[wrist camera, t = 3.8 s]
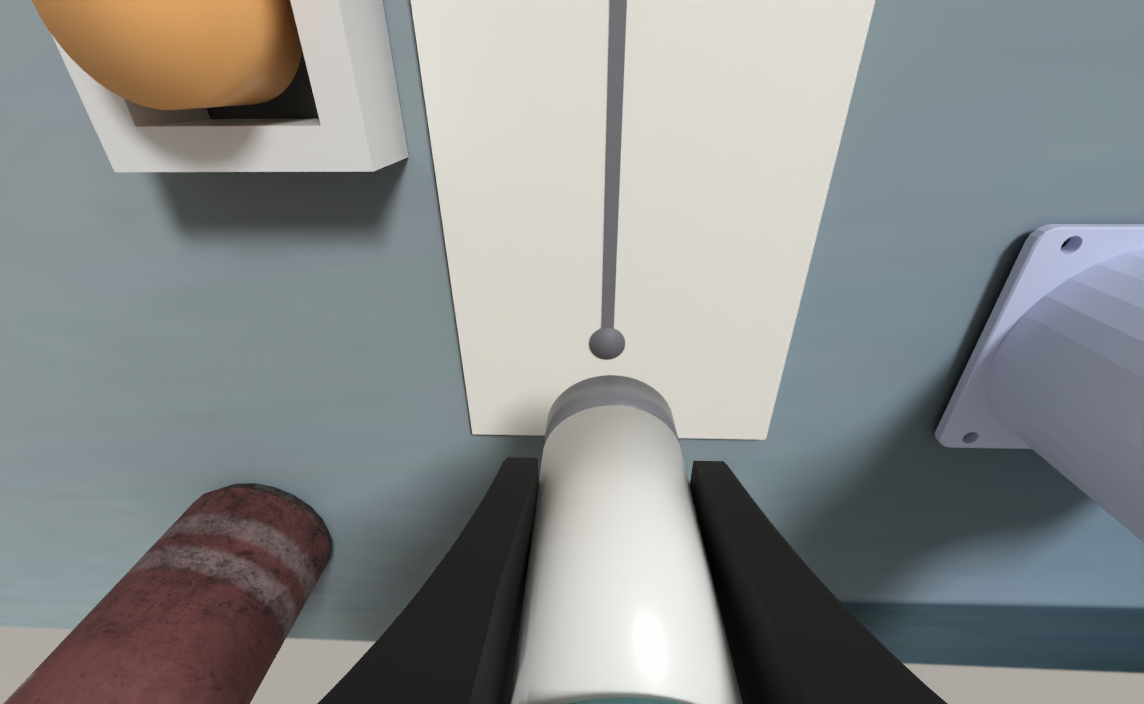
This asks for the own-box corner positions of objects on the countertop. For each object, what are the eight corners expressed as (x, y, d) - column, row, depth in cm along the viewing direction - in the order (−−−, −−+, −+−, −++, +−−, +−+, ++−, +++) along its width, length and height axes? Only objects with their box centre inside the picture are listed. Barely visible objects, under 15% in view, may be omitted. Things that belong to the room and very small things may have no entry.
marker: (684, 372, 11) (840, 859, 4) (671, 479, 13) (766, 953, 6) (539, 370, 11) (456, 842, 4) (544, 476, 13) (491, 938, 6)
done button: (273, -93, 10) (182, -143, 8) (320, 104, 12) (257, 109, 9) (105, -90, 10) (-32, -137, 8) (177, 105, 12) (82, 111, 10)
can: (291, 588, 24) (-22, 1114, 12) (173, 516, 22) (-369, 1081, 9) (368, 540, 22) (86, 1116, 10) (247, 455, 20) (-325, 1075, 7)
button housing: (356, -158, 10) (292, -222, 8) (408, 157, 14) (373, 171, 11) (73, -150, 11) (-61, -211, 8) (190, 157, 14) (114, 172, 12)
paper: (944, -308, 9) (957, -322, 9) (763, 434, 18) (766, 440, 18) (374, -287, 9) (367, -299, 9) (474, 429, 18) (472, 434, 18)
